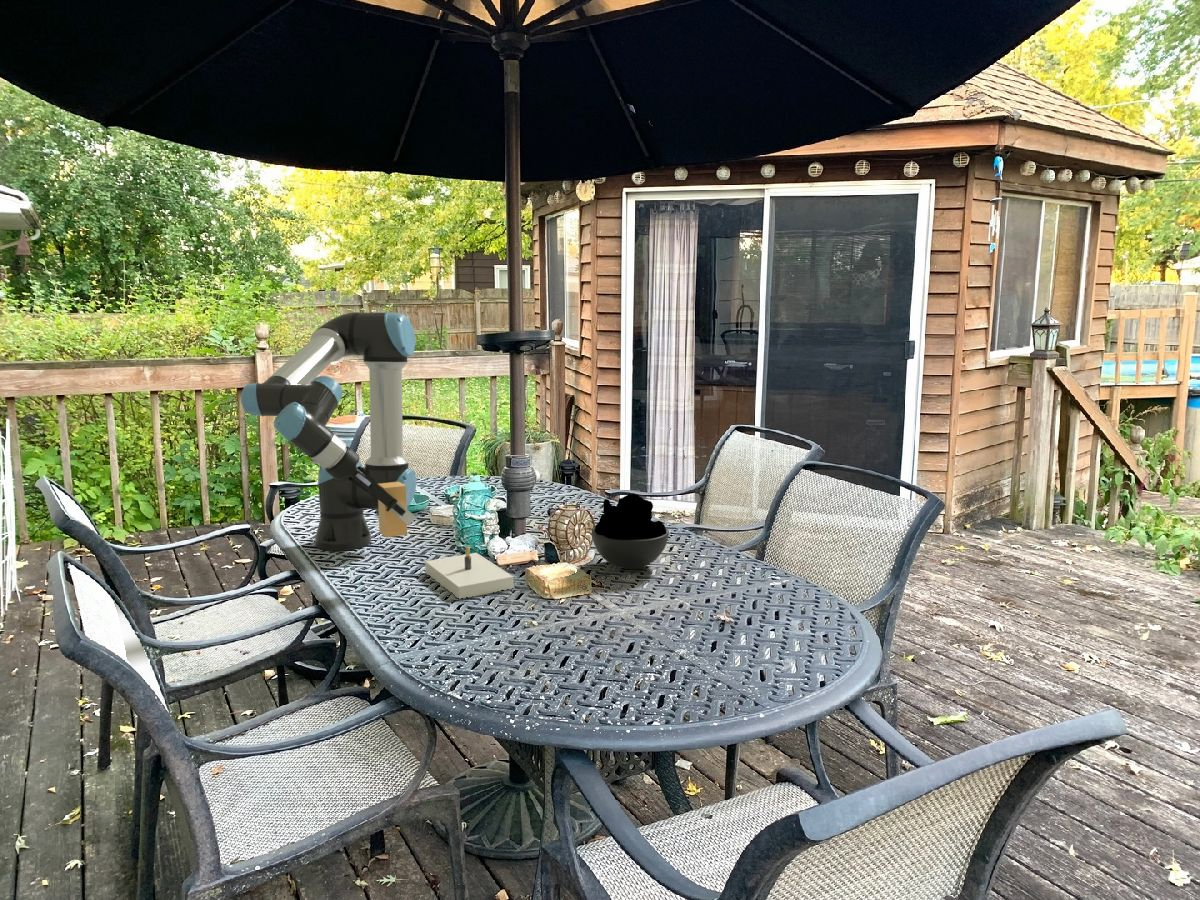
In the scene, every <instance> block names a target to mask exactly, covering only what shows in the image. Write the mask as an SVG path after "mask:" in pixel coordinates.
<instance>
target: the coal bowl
mask: <svg viewBox="0 0 1200 900" xmlns="http://www.w3.org/2000/svg"><path fill="white" fill-rule="evenodd" d="M602 505H603V511H602V512H603V514H601V516H600V518H599V520H598V522H597V523H596V524H595V525H594V526H593V527H594V529H593V530H592V529H591V531H592V532H591V538H592V542H593V545H594V547H595V548H596V549H595V550H596V551H597V553H599V555H600V556H601V557H602V558H603V559H604V560H605V561H606V562H608V563H609V564H610V565H612V566H615V567H617V568H619V569H620V568H621V569H623V570H624V569H625V570H636V569H640V568H643V567H646V566H648V565H650V564H652V563H653V562H655V561H656V560H657V559H658V558H659V557H660V556H661V555H662V553H663V551H664V550H665V549H666V546H667V544H668V540H669V535H670V531H669V529H668V527H666V525H665V524H664V522H662V521H661V520H657V521H653V520H652V518H653V512H652V511H653V508H654V503H653V502H652V501H651V500H648V499H645V498H643V497H642V496H641V495H639V494H636V493H628V494H627V495H625V496H623V497H620V498H618V503H617V504H616V505H613V504H611V501H610V499H608V498H604V499H603V503H602Z"/></svg>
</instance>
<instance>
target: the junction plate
mask: <svg viewBox="0 0 1200 900" xmlns="http://www.w3.org/2000/svg"><path fill="white" fill-rule="evenodd" d="M470 551H471V547H470V546H466V547H465V554H459V555H455V556H448V557H442V558H438V559H436V558H435V559H431V560H425V563H424V564H425V567H424V568H425V573H426V574H427V575H428V576H429V575H430V576H431V577H430V576H429V577H430V578H432V579H433V580H434V579H435V580H434V581H435V582H436V583H438V582H439V583H440V584H439V583H438V584H439V585H441V586H442V587H443V586H444V587H445V589H446V590H447V589H448V590H449V591H450V592H449V591H448V590H447V591H448V592H449V593H451V592H452V593H453V594H454V595H455V596H454V595H453V594H452V593H451V594H452V595H453V596H454V597H455V598H457V599H458V598H459V599H458V600H460V599H461V598H463V599H467V598H466V597H468V598H472V596H473V597H477V596H478V597H479V596H482V595H488V594H493V592H494V593H498V592H497V591H499V592H502V591H501V590H504V591H508V590H507V589H509V590H513V589H512V588H514V586H515V585H514V584H515V583H514V576H513V575H512V574H510V573H509V572H507V571H506V570H504V569H503V568H501V567H500V566H498V565H496V564H494V563H493V562H492V561H490V560H488V559H487V558H485V557H484V556H482V555H481V554H479V553H478V552H474V553H471V552H470ZM444 587H443V588H444ZM461 600H462V599H461Z"/></svg>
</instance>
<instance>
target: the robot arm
mask: <svg viewBox="0 0 1200 900" xmlns="http://www.w3.org/2000/svg"><path fill="white" fill-rule="evenodd" d="M415 348H416V335H415V331H414V328H413V325H412V322H411V320H410V319H409V318H408V317H407V315H404V314H403V313H399V312H398V313H396V312H391V311H389V312H388V311H387V312H358V311H356V312H355V311H354V312H347V313H344V314H341V315H338V316H335V317H333V318H332V319H330V320H328V321H326V322H325V323H324V324H322V325H321V326H319V327H318V328H317V329H315V330H314V331H313V333H312V334H311V336H310V338H309V341H308V342H307V343H306V344H305V345H304V346H303V347H301V348H300V349H299V350H298V351H297V352H296V353H295V354H294V355H293V356H291V357H290V358H289V359H288V360H287V361H286V362H285V363H284V364H282V366H281V367H279V368H278V369H277V370H275V372H274V373H273V374H271V375H270V376H269V377H268V378H267V379H266V380H265V381H264V382H262V383H259V382H254V383H249V384H246V385H245V386H244V387H243V388H242V391H241V395H240V402H241V403H240V404H242V405H241V406H242V409H243V410H244V412H245V413H246V414H248V415H250V416H260V417H275V418H274V420H273V428H275V430H276V431H277V432H278V433H279V434H281V436H282V437H284V439H285V440H286V441H288V442H289V443H290V444H292V445H293V446H295V447H296V448H297V449H298V450H300V451H301V452H302V453H303V454H305V455H306V456H307V457H309V458H310V459H311V460H312V462H311V463H312V465H314V466H315V465H318V466H319V467H321V468H319V469H318V476H317V477H318V478H317V485H318V501H319V513H320V514H319V515H320V517H319V518H320V520H319V523H318V526H317V530H316V532H315V533H316V534H315V537H314V543H315V547H316V548H317V549H320V550H324V551H333V552H334V551H335V552H336V551H337V552H340V551H341V552H342V551H350V550H351V551H352V550H355V549H360V548H364V547H366V546H368V545H370V544H371V543H372V534H371V530H370V527H369V526H368V523H367V521H366V519H365V516H364V510H377V511H379V509H378V500H379V501H381V502H382V503H383V504H384V505H385V506H387V509H386V511H389V510H390V511H391V512H393V513H394V514H395V515H396V516H397V517H399V518H400V519H401V520H402V521H403V522H405V523H406V524H407V527H408V526H410V525H411V524H412V523H413V521H415V520H416V518H417V516H416V515H415V514H413V513H412V512H411V511H410V510H409V509H408V507H409V506H410V505H411V503H412V501H413V499H414V497H415V493H416V489H417V483H418V482H417V475H416V472H415V470H414V469H412V468H410V467H409V460H408V459H407V458H405V456H404V455H403V451H404V450H403V448H404V447H403V445H404V443H403V440H404V438H403V374H402V373H403V368H404V367H405V366H406V365H407V364H408V357H409V358H410V357H412V356H413V354H414V352H415ZM347 356H349V357H350V356H362V358H363V364H364V365H365V366H366V367H367V368H368V371H369V372H368V373H369V422H370V424H369V426H370V429H369V431H370V432H369V433H370V435H369V436H370V437H369V438H370V456H369V457H368V458H367V460H366V461H364V467H363V464H362V461H360V455H359V454H358V453H357V452H356V451H354V450H353V449H352V448H351V447H350V446H347V443H346V442H345V441H343V440H342V439H341V438H340V437H339V436H337V435H336V434H335V433H334V432H333V431H331V430H330V429H329V427H327V424H328V423H329V420H330V419H331V417H332V415H333V413H334V412H335V411H336V409H337V408H338V406H339V403H340V401H341V398H342V396H343V389H342V386H341V384H340V383H339V382H338V381H337V380H336V379H334V378H333V377H331V376H327V375H321V373H322V372H323V371H324V370H326V368H327V367H328V366H329V365H331V363H332V362H333V363H334V362H338V361H339V360H341V359H342V358H343V357H347ZM390 482H400V483H402V484H404V485H405V486H406V508H407V509H406V508H405V507H404V506H403V505H401V504H400V503H399V502H398V501H397V500H396V499H394V498H393V497H392V496H391V495H390V494H388V493H387V492H386V491H385V490H384V489H383V488H381V487H380V486H379V485H378V484H380V483H390Z"/></svg>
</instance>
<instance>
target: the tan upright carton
mask: <svg viewBox="0 0 1200 900" xmlns="http://www.w3.org/2000/svg"><path fill="white" fill-rule="evenodd" d="M378 485H379V486H380V487H381V488H383V489H384V490H385V491H386V492H387V493H388V494H390V495H391V496H392V497H393V498H394V499H396V500H397V501H398V502H399V503H400V504H401V505H403V506H404V507H405V508H406V486H405V485H404V484H402V483H400V482H390V483H380V484H378ZM378 509H379V510H378V528H379V529H378V531H379V534H380V535H382V536H383V537H384V538H393V537H399V536H400V537H402V536H407V535H408V525H407V524H406V523H405V522H403V521H402V520H401V519H400V518H399V517H397V516H396V515H395V514H394V513H393V512H391V511H390V510H389V511H386V509H387V506H385V505H384V504H383V503H382V502H381V501H379V500H378ZM406 509H407V510H408V507H407V508H406Z"/></svg>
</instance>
